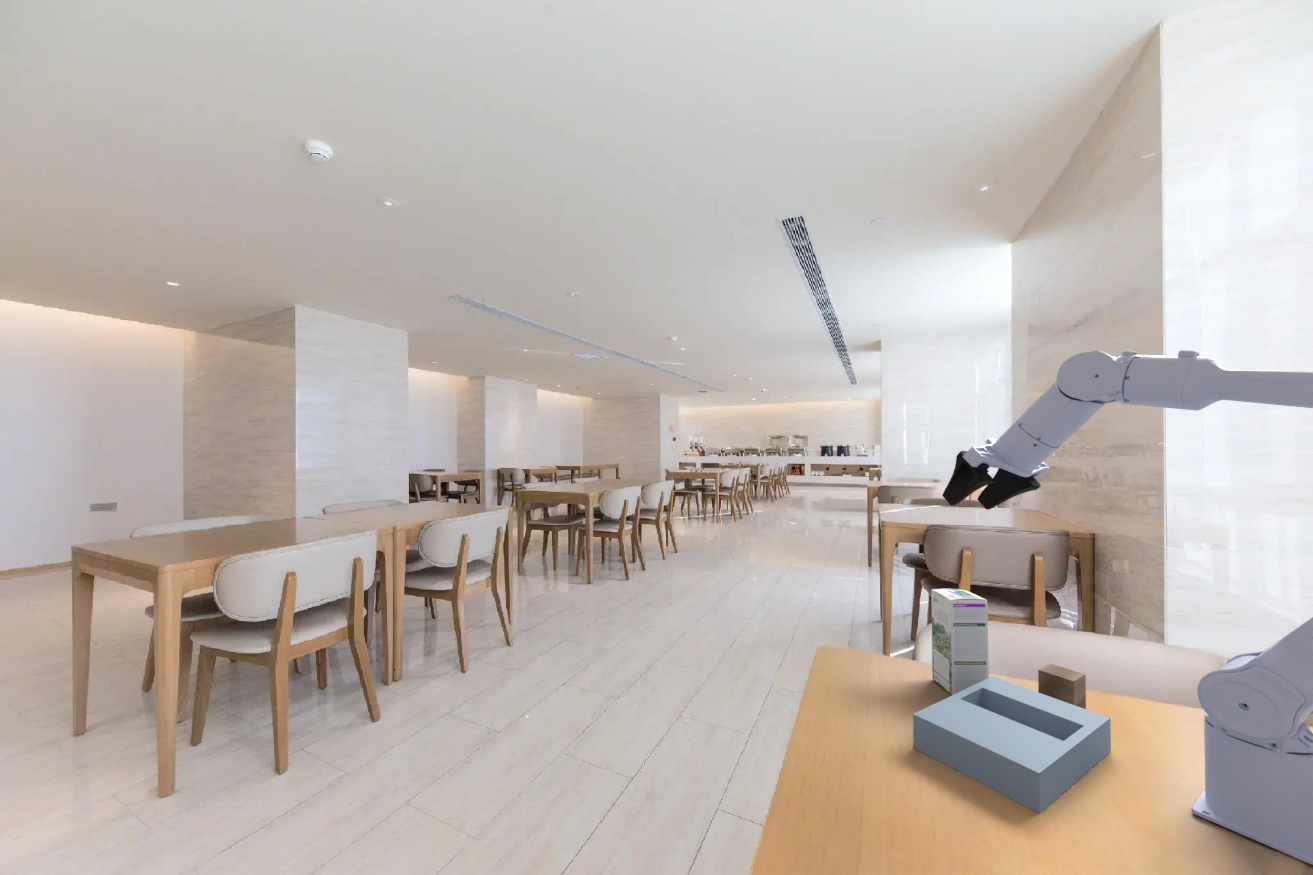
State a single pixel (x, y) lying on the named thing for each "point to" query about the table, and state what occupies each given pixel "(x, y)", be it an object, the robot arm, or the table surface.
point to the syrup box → (959, 639)
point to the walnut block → (1063, 684)
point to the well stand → (1013, 740)
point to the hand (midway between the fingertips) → (965, 502)
